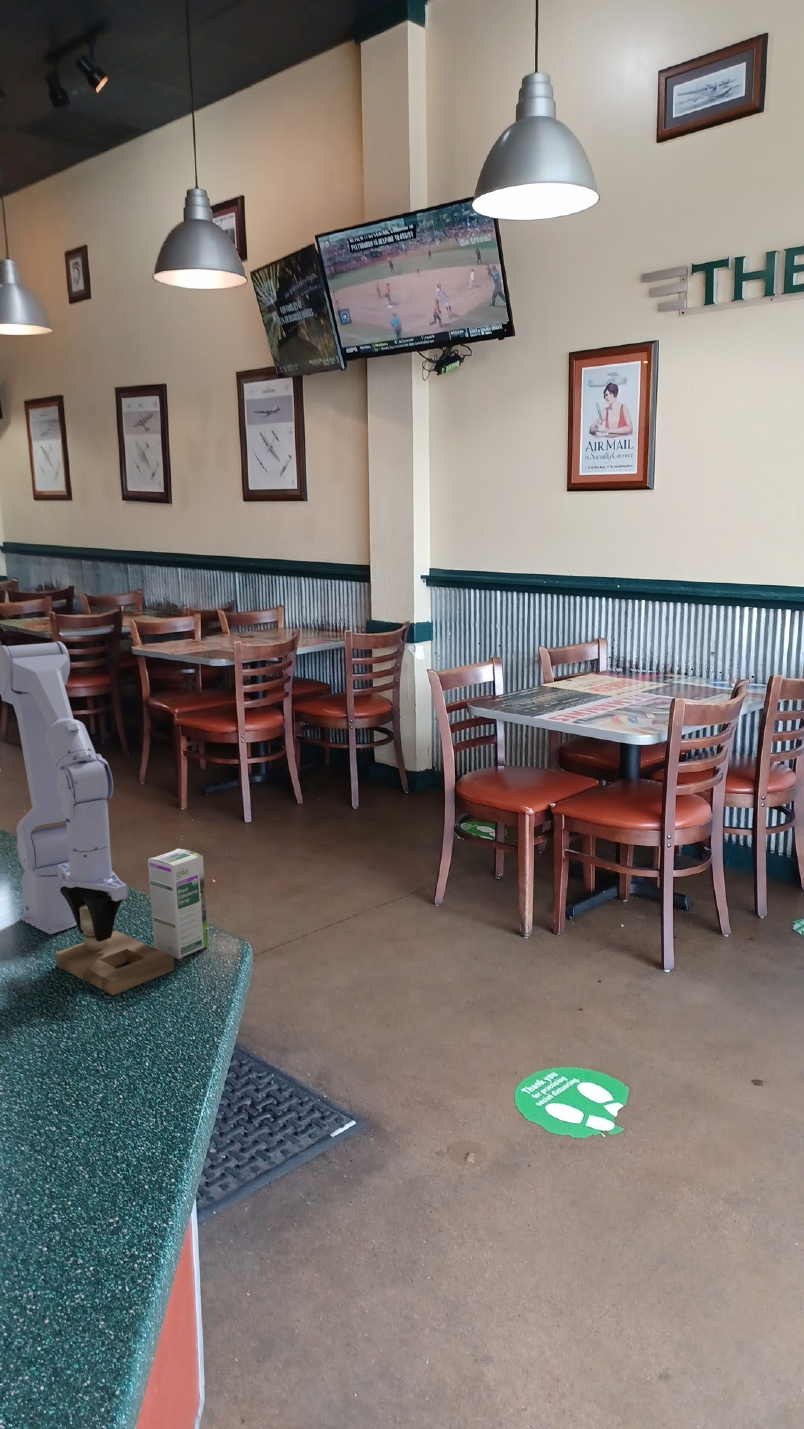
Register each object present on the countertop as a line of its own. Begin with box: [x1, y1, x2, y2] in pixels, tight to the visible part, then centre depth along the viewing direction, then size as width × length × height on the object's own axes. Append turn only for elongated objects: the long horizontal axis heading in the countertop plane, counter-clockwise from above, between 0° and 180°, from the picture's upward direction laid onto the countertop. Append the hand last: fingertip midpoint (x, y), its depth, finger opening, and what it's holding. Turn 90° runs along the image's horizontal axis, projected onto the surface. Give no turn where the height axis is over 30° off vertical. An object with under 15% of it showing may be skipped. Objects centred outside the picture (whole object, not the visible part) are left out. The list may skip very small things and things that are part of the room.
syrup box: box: [147, 848, 209, 960], centre depth 147 cm, size 6×6×14 cm
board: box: [55, 930, 175, 996], centre depth 143 cm, size 14×10×2 cm
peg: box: [80, 904, 108, 951], centre depth 145 cm, size 4×4×6 cm
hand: (95, 935), depth 145 cm, fingers closed on peg, 4 cm apart
